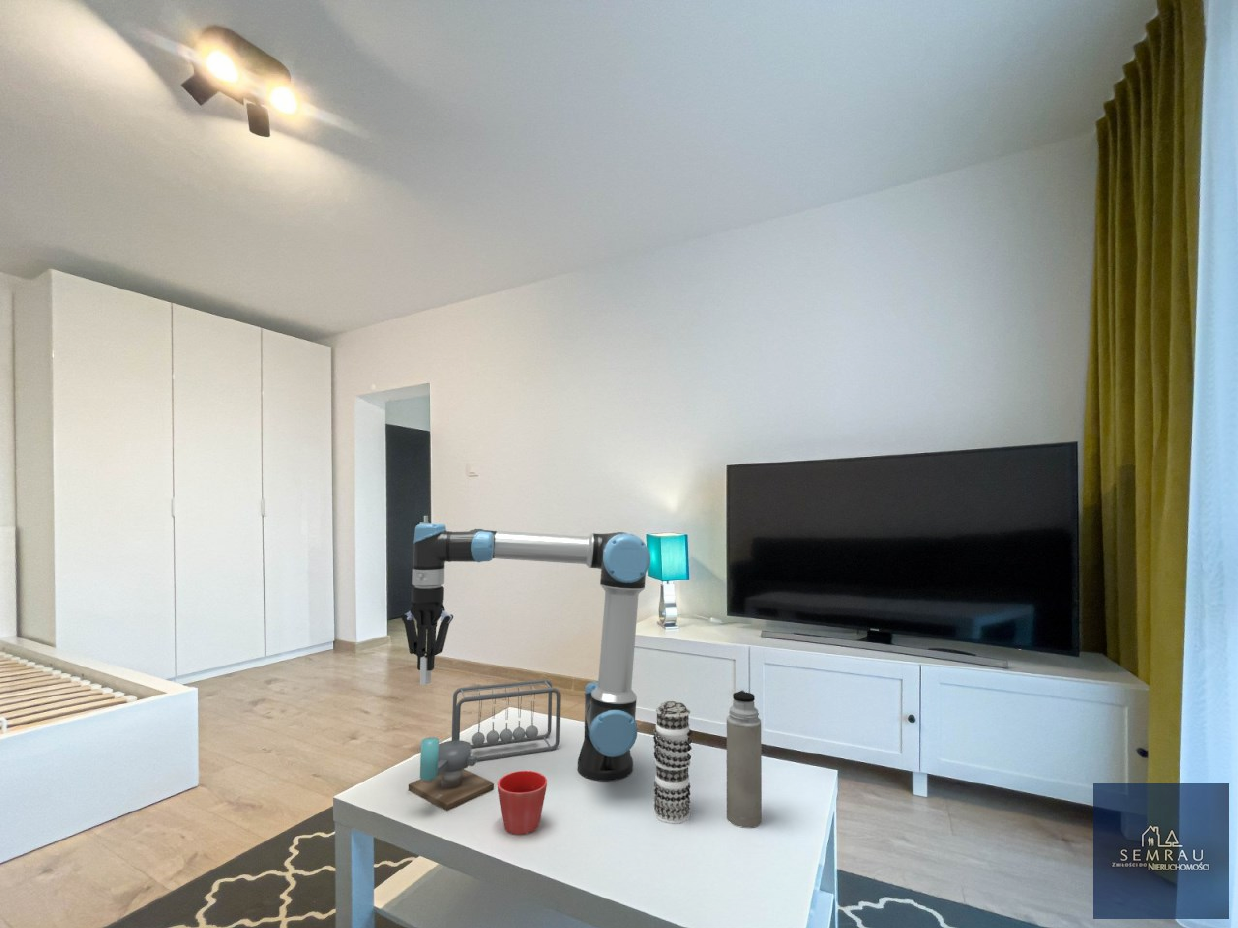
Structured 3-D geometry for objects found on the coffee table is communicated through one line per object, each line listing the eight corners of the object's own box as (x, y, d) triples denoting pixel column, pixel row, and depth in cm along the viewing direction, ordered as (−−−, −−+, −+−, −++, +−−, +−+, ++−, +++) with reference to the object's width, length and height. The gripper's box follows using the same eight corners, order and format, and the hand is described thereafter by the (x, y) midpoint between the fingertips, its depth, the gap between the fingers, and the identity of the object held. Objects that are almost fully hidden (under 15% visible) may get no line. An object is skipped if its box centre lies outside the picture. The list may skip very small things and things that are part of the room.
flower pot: (536, 842, 124) (538, 794, 125) (488, 835, 126) (490, 789, 127) (552, 816, 134) (553, 773, 135) (507, 811, 136) (508, 768, 137)
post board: (494, 789, 147) (494, 764, 147) (446, 811, 136) (447, 784, 136) (455, 770, 157) (456, 747, 157) (408, 790, 146) (409, 765, 146)
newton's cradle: (454, 765, 160) (457, 699, 162) (450, 750, 170) (453, 688, 171) (559, 750, 171) (561, 688, 173) (550, 736, 181) (552, 678, 182)
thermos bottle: (729, 807, 140) (729, 687, 142) (763, 813, 137) (762, 691, 139) (724, 824, 132) (724, 697, 134) (760, 830, 129) (759, 701, 132)
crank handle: (438, 754, 152) (440, 714, 153) (482, 758, 150) (483, 717, 151) (400, 787, 134) (401, 741, 135) (448, 792, 132) (450, 746, 133)
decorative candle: (669, 799, 143) (670, 695, 145) (699, 814, 136) (700, 704, 138) (644, 813, 136) (645, 703, 138) (674, 829, 130) (675, 713, 132)
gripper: (395, 587, 142) (392, 686, 140) (445, 588, 139) (442, 689, 138) (411, 583, 149) (408, 677, 147) (459, 584, 147) (456, 680, 145)
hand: (425, 683), depth 143 cm, fingers closed
